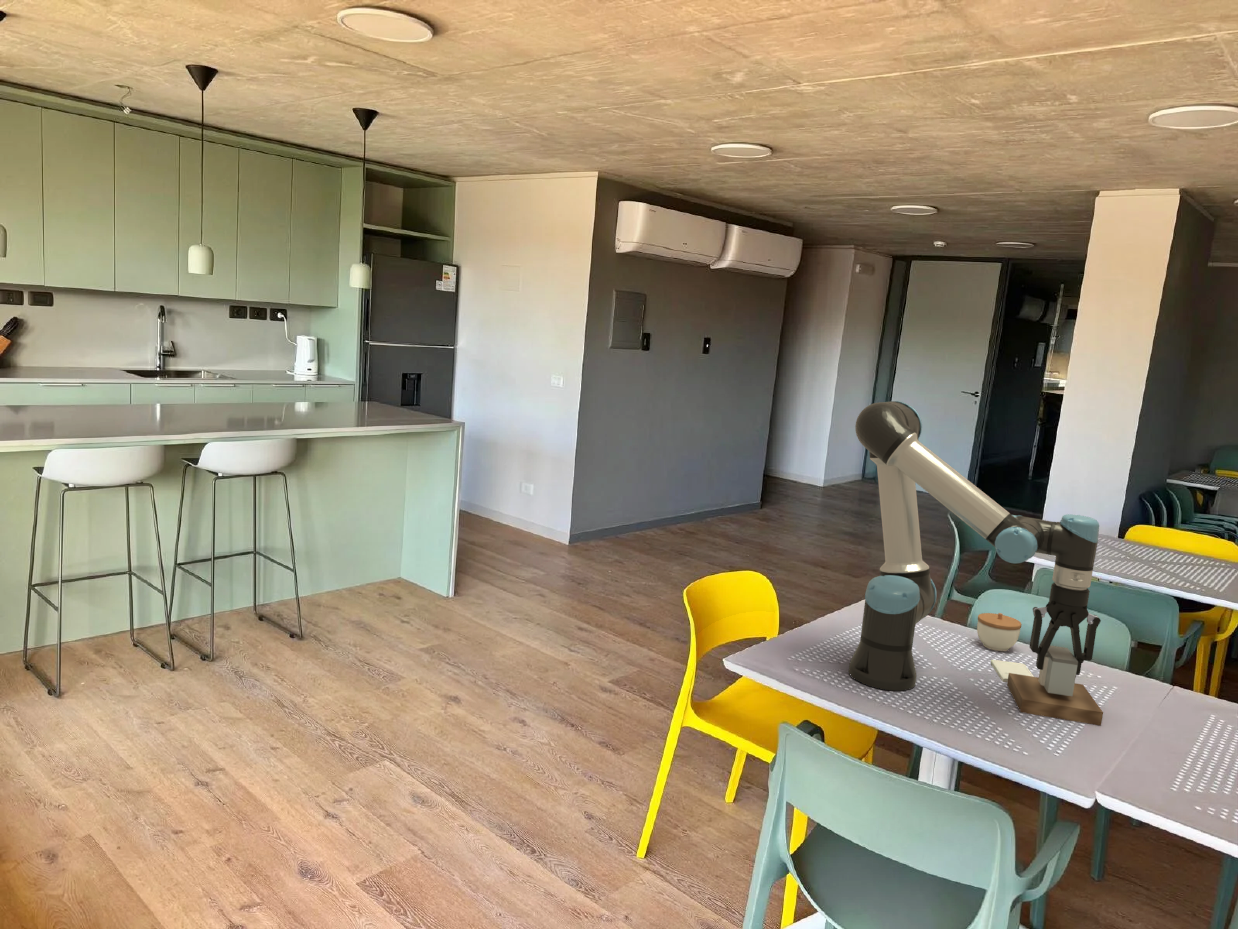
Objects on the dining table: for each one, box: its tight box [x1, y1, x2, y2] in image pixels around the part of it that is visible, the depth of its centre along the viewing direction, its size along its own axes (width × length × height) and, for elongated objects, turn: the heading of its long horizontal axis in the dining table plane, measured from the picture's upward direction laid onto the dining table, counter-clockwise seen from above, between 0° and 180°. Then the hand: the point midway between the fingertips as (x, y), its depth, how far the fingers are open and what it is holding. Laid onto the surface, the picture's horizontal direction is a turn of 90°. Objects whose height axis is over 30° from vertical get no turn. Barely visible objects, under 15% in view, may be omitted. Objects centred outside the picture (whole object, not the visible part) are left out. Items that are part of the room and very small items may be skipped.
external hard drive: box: [990, 659, 1035, 683], centre depth 209 cm, size 2×8×12 cm
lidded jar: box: [976, 612, 1022, 652], centre depth 228 cm, size 11×11×9 cm
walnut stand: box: [1006, 673, 1104, 726], centre depth 192 cm, size 16×16×3 cm
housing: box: [1038, 645, 1078, 696], centre depth 191 cm, size 5×9×8 cm, turn 166°
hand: (1055, 685), depth 192 cm, fingers closed on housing, 5 cm apart
